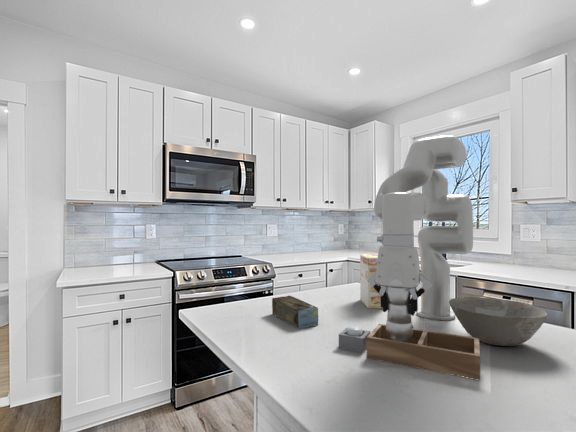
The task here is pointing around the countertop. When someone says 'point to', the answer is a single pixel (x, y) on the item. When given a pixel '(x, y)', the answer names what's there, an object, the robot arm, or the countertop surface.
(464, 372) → the walnut bottle rack
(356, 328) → the white domed push button
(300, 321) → the brown-grey rectangular block
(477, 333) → the ceramic bowl
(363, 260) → the coffeecake box
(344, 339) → the button housing
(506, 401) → the countertop surface
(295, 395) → the countertop surface
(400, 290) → the plastic bottle
